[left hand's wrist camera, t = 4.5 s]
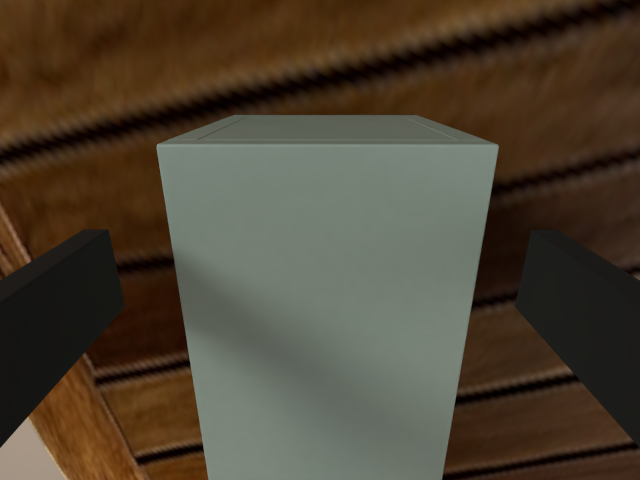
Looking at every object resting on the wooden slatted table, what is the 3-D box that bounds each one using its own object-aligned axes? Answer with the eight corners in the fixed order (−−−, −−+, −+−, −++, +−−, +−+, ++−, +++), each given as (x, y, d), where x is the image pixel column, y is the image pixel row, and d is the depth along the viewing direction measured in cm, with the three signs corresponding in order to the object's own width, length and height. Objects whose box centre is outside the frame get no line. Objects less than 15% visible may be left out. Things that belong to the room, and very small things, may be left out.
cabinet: (396, 347, 28) (438, 501, 18) (252, 347, 28) (211, 499, 18) (417, 115, 22) (500, 144, 12) (233, 114, 22) (154, 143, 12)
